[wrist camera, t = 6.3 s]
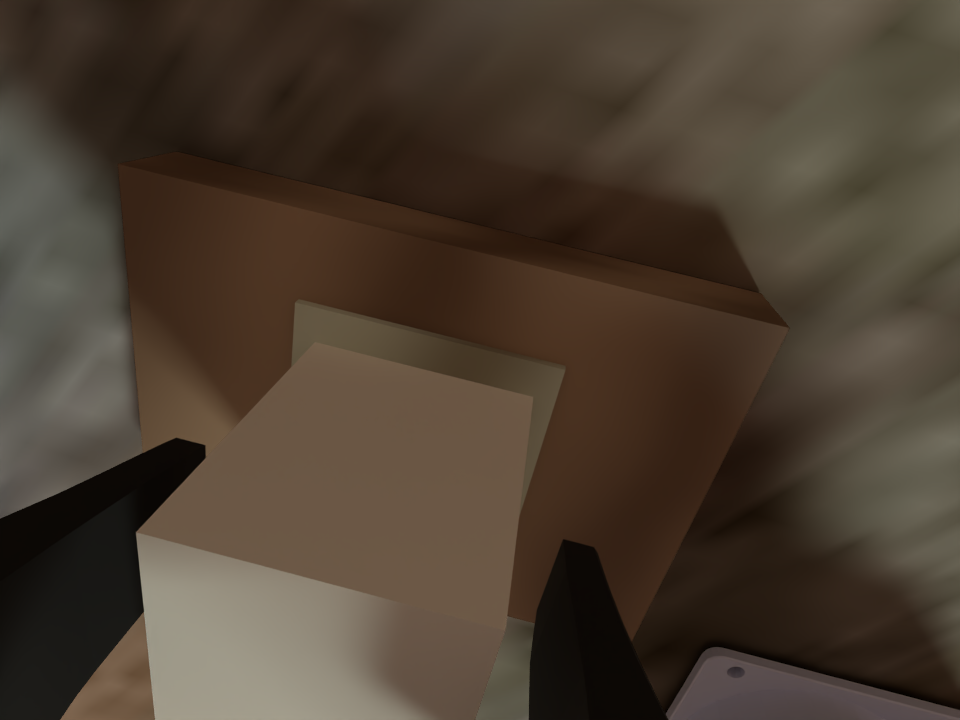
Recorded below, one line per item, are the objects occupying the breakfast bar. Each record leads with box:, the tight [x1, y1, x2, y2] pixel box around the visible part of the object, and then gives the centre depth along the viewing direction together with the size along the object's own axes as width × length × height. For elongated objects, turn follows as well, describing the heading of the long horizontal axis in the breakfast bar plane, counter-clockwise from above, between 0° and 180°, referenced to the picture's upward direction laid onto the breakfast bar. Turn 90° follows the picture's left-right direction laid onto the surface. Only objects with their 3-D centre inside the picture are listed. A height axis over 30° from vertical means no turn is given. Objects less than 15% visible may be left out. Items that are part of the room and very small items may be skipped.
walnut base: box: [118, 152, 790, 642], centre depth 15 cm, size 14×10×2 cm
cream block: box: [136, 342, 533, 720], centre depth 11 cm, size 5×5×6 cm
